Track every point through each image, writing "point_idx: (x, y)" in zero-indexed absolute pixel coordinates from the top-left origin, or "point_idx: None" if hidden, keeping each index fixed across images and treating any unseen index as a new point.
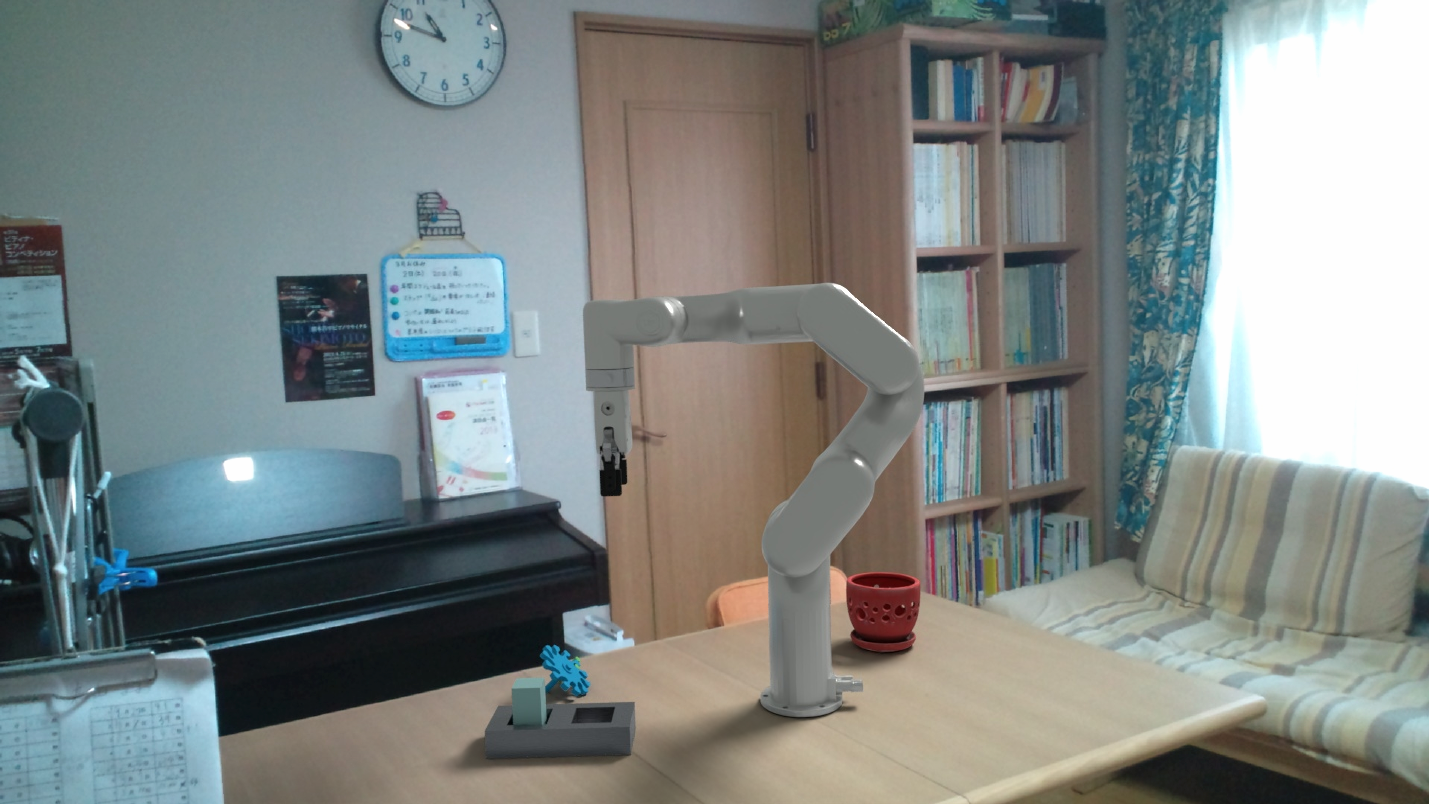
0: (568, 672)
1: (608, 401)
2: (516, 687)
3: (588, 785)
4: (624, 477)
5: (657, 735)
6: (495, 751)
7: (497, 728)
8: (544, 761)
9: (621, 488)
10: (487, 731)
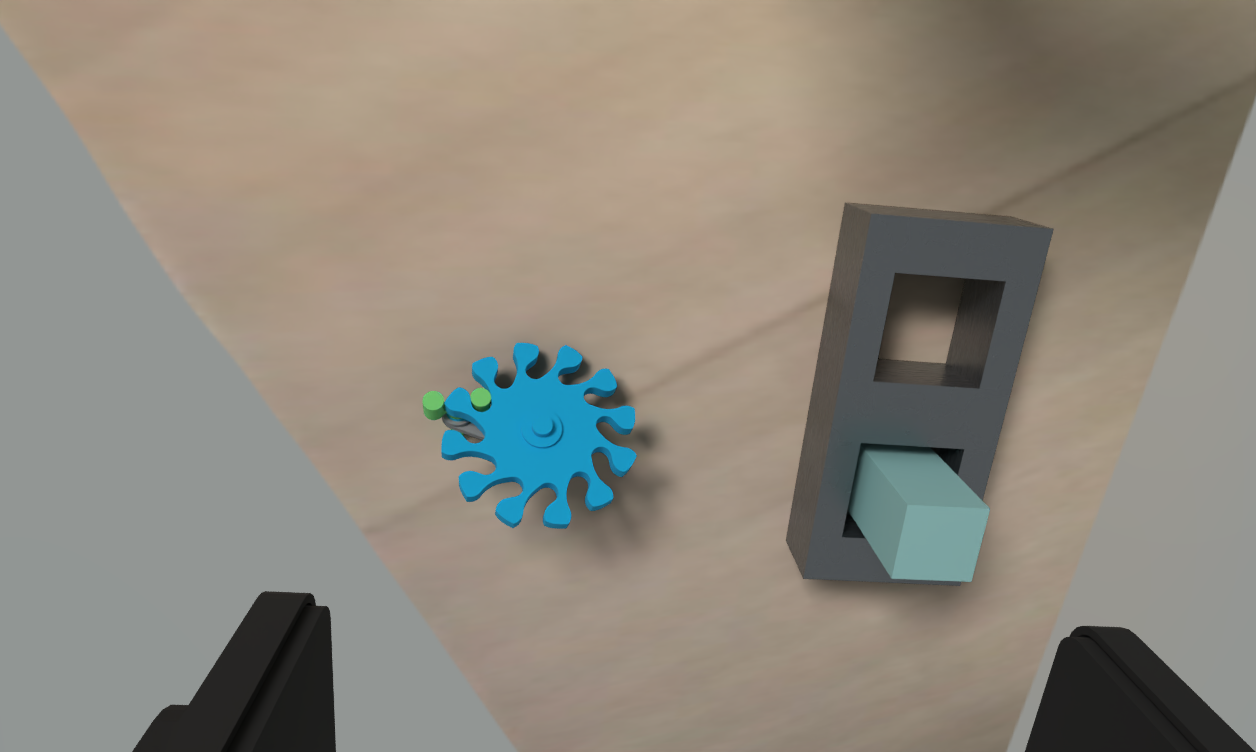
0: (560, 421)
1: None
2: (967, 570)
3: (1139, 315)
4: (300, 677)
5: (907, 140)
6: None
7: None
8: None
9: (1174, 676)
10: None
